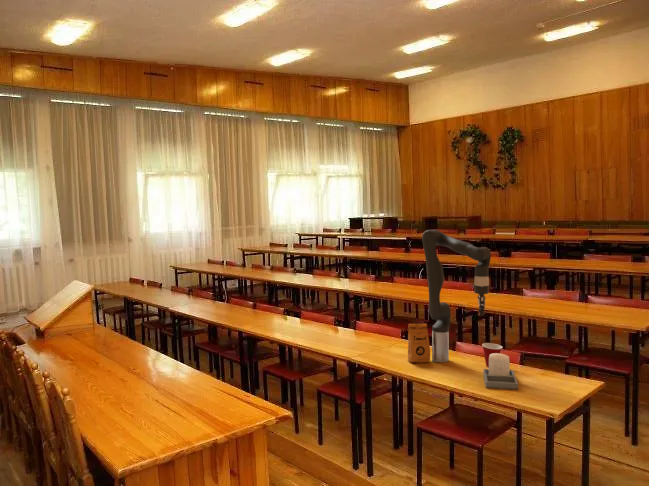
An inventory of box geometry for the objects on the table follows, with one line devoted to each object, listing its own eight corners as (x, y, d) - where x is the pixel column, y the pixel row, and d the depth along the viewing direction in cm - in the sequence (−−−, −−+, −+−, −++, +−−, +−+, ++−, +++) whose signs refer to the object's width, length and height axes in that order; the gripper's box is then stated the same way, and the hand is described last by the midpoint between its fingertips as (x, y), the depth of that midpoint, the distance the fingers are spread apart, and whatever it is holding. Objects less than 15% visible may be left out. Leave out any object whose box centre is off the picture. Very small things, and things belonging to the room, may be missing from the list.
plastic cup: (503, 370, 295) (503, 348, 294) (482, 369, 297) (482, 347, 296) (501, 364, 305) (501, 342, 304) (481, 363, 307) (481, 342, 306)
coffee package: (431, 364, 308) (430, 325, 306) (408, 364, 308) (408, 325, 307) (428, 358, 318) (428, 321, 316) (407, 359, 318) (406, 321, 317)
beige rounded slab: (510, 377, 280) (510, 353, 279) (508, 379, 276) (508, 355, 275) (489, 374, 285) (489, 351, 284) (487, 377, 281) (487, 353, 280)
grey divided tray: (485, 387, 267) (485, 382, 267) (483, 374, 288) (483, 368, 287) (518, 389, 264) (518, 383, 264) (513, 376, 284) (513, 370, 284)
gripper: (473, 282, 302) (473, 311, 303) (474, 286, 288) (474, 316, 289) (488, 282, 300) (487, 311, 301) (489, 286, 286) (489, 317, 287)
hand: (481, 314), depth 295 cm, fingers open, 8 cm apart
